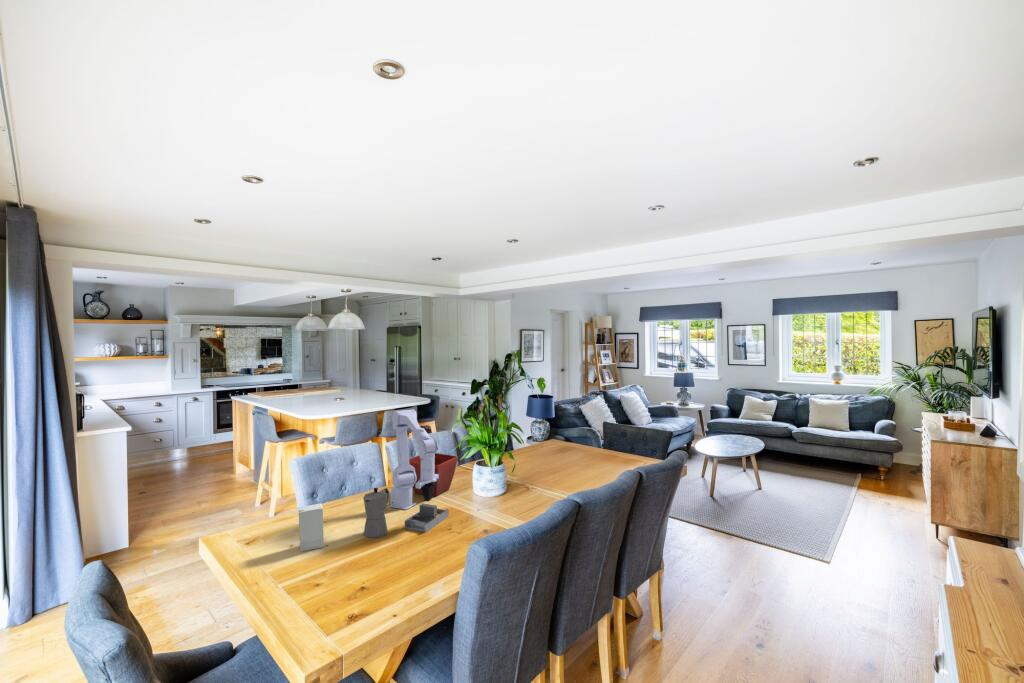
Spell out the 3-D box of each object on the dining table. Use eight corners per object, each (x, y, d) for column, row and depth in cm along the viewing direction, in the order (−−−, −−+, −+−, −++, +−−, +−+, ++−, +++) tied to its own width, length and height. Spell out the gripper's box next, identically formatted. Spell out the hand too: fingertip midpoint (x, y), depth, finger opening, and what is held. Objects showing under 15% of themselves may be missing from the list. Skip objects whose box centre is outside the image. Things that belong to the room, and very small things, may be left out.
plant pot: (436, 500, 219) (437, 465, 219) (404, 494, 227) (404, 460, 227) (458, 488, 236) (458, 456, 236) (427, 483, 245) (427, 451, 244)
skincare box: (322, 541, 175) (322, 502, 175) (323, 548, 169) (324, 507, 169) (298, 545, 171) (298, 505, 171) (298, 552, 166) (298, 511, 165)
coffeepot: (376, 541, 175) (376, 494, 174) (355, 538, 177) (355, 491, 177) (398, 526, 189) (398, 482, 189) (378, 523, 192) (378, 480, 192)
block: (419, 519, 193) (419, 505, 193) (422, 517, 195) (422, 503, 195) (433, 522, 191) (433, 507, 191) (436, 520, 193) (436, 505, 193)
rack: (404, 528, 187) (404, 519, 187) (428, 513, 203) (428, 504, 203) (425, 532, 183) (425, 523, 183) (448, 516, 200) (448, 507, 200)
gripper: (426, 474, 185) (426, 507, 185) (444, 464, 198) (444, 496, 198) (411, 472, 187) (411, 505, 188) (430, 463, 201) (430, 494, 201)
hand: (427, 500), depth 193 cm, fingers closed
